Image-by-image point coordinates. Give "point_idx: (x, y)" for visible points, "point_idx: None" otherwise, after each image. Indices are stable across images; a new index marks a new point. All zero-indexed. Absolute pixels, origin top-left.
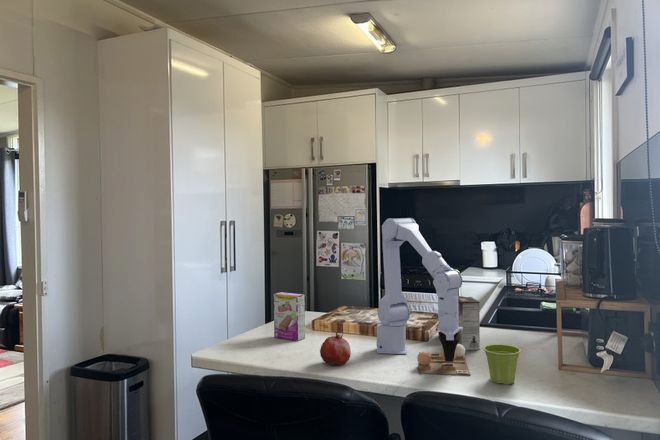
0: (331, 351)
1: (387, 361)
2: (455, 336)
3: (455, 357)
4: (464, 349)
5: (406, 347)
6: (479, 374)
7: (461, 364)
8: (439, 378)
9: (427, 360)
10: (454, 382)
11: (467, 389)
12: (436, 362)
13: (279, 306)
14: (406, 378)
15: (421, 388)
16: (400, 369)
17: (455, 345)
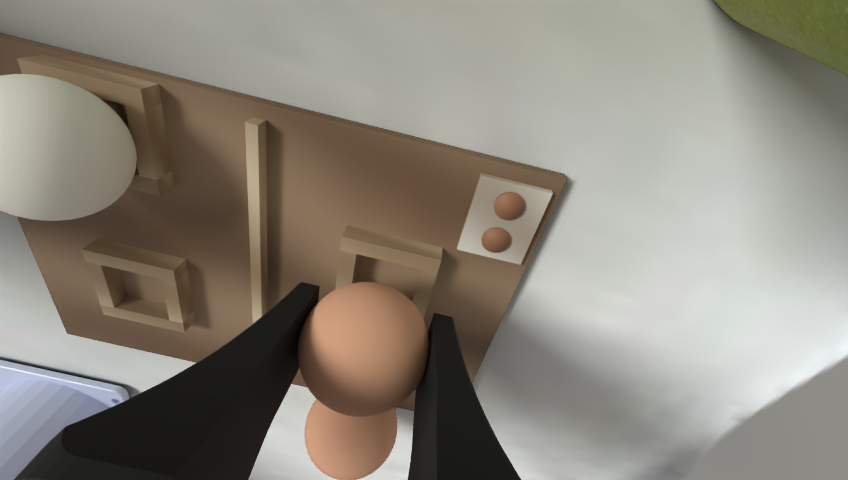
0: None
1: (263, 460)
2: (201, 456)
3: (404, 301)
4: (36, 100)
5: (2, 368)
6: (548, 79)
7: (296, 160)
8: (555, 359)
9: (394, 425)
10: (657, 314)
11: (826, 288)
12: (267, 306)
13: None
14: (514, 462)
15: (670, 453)
16: None
17: (509, 474)
